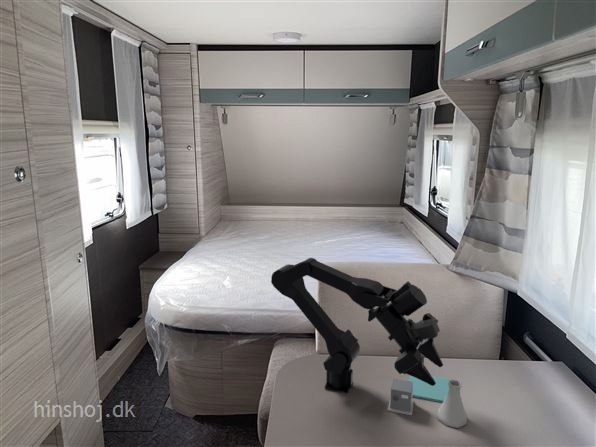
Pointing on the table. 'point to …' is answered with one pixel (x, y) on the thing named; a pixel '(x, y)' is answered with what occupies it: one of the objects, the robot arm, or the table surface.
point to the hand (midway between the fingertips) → (438, 375)
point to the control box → (401, 397)
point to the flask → (453, 407)
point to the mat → (430, 389)
